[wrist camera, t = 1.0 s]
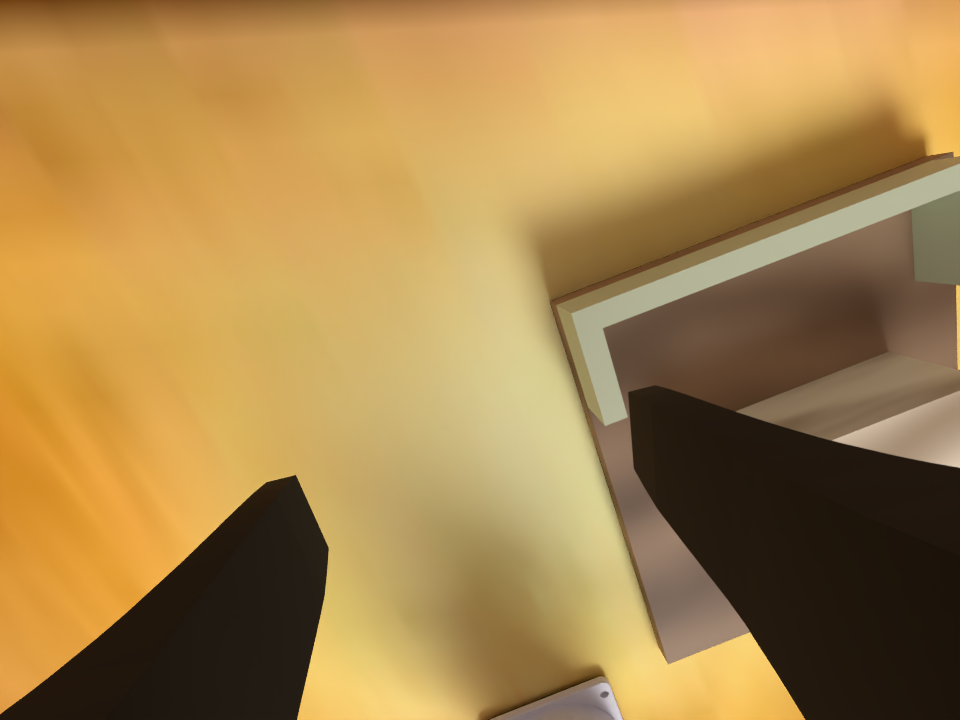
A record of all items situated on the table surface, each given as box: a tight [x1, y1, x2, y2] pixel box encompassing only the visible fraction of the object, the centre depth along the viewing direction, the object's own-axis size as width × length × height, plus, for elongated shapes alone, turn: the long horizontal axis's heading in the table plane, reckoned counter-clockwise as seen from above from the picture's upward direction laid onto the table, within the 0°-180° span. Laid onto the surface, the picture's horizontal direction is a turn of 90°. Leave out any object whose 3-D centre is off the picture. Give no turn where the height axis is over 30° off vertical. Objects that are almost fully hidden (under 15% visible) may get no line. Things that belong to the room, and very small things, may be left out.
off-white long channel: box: [556, 156, 960, 426], centre depth 18 cm, size 5×17×2 cm, turn 110°
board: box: [550, 152, 958, 664], centre depth 22 cm, size 22×18×1 cm
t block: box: [735, 352, 960, 468], centre depth 21 cm, size 12×12×4 cm
